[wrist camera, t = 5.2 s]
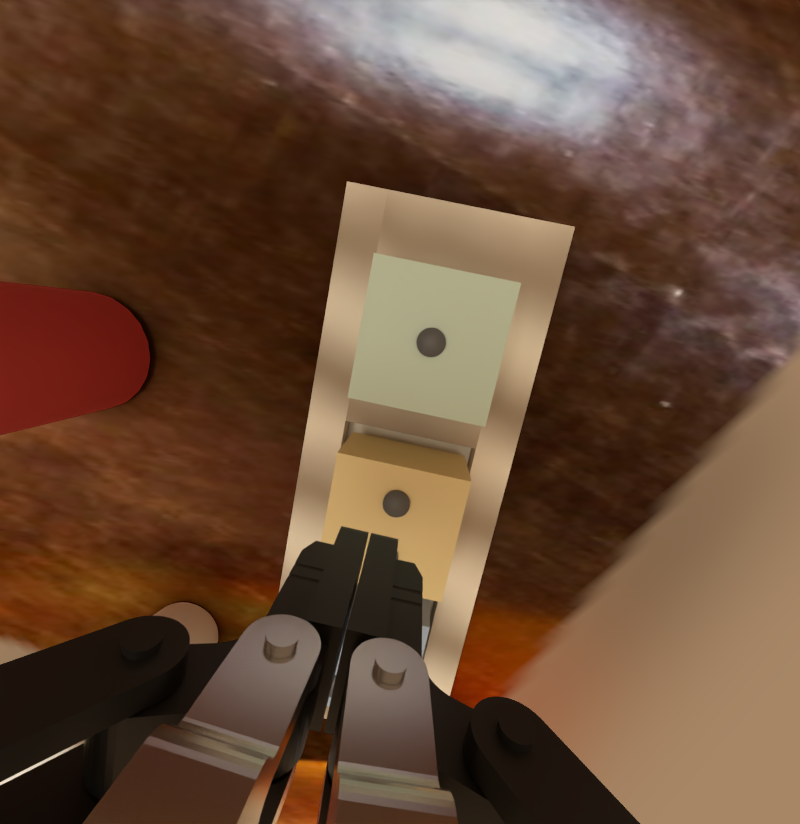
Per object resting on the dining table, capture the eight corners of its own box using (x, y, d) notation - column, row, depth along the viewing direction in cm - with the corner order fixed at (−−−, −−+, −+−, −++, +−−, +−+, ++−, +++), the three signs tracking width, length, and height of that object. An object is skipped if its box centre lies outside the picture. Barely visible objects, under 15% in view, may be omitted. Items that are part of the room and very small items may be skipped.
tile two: (353, 431, 23) (336, 453, 19) (464, 455, 23) (472, 483, 19) (333, 534, 24) (314, 576, 20) (439, 557, 24) (441, 605, 20)
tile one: (384, 267, 21) (373, 251, 17) (504, 291, 21) (522, 282, 17) (361, 385, 22) (346, 398, 18) (475, 410, 22) (486, 427, 18)
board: (354, 194, 23) (347, 181, 21) (562, 235, 22) (574, 227, 20) (272, 677, 28) (260, 703, 27) (436, 715, 28) (436, 744, 26)
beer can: (179, 349, 25) (-46, 367, 13) (113, 429, 26) (-147, 511, 14) (89, 267, 24) (-230, 208, 13) (26, 352, 26) (-319, 371, 14)
